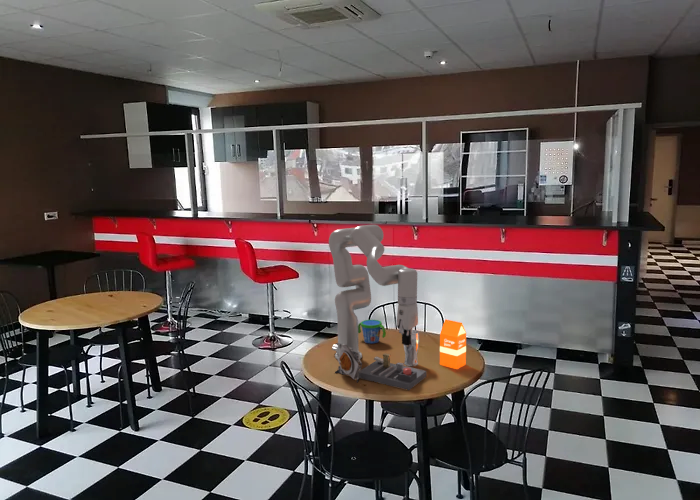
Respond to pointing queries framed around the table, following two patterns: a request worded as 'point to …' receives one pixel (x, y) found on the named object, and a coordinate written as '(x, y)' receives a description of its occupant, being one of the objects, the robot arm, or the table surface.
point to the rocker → (378, 359)
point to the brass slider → (386, 360)
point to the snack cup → (371, 330)
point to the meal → (348, 362)
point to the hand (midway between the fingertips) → (406, 344)
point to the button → (407, 371)
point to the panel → (392, 375)
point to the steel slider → (399, 366)
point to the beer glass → (412, 350)
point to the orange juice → (453, 344)
